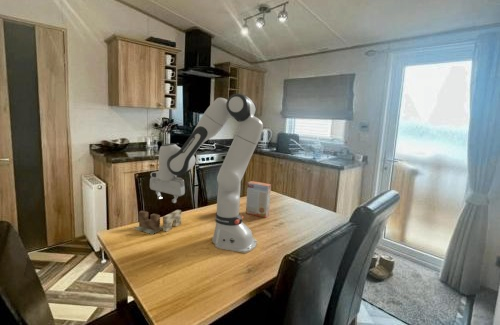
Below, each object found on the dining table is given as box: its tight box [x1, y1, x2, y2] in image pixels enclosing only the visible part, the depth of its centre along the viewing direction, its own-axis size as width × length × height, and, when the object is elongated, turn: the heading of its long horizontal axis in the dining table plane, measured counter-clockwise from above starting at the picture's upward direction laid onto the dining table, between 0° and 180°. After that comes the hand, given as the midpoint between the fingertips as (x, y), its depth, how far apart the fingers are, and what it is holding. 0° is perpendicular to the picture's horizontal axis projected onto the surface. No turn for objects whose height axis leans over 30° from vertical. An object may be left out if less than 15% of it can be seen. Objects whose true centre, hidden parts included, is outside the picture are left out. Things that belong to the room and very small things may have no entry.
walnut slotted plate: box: [134, 210, 163, 235], centre depth 142 cm, size 12×8×9 cm, turn 66°
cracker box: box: [245, 180, 272, 219], centre depth 171 cm, size 14×6×21 cm, turn 64°
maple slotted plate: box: [162, 209, 182, 233], centre depth 146 cm, size 12×2×8 cm, turn 156°
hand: (166, 200), depth 140 cm, fingers open, 8 cm apart
